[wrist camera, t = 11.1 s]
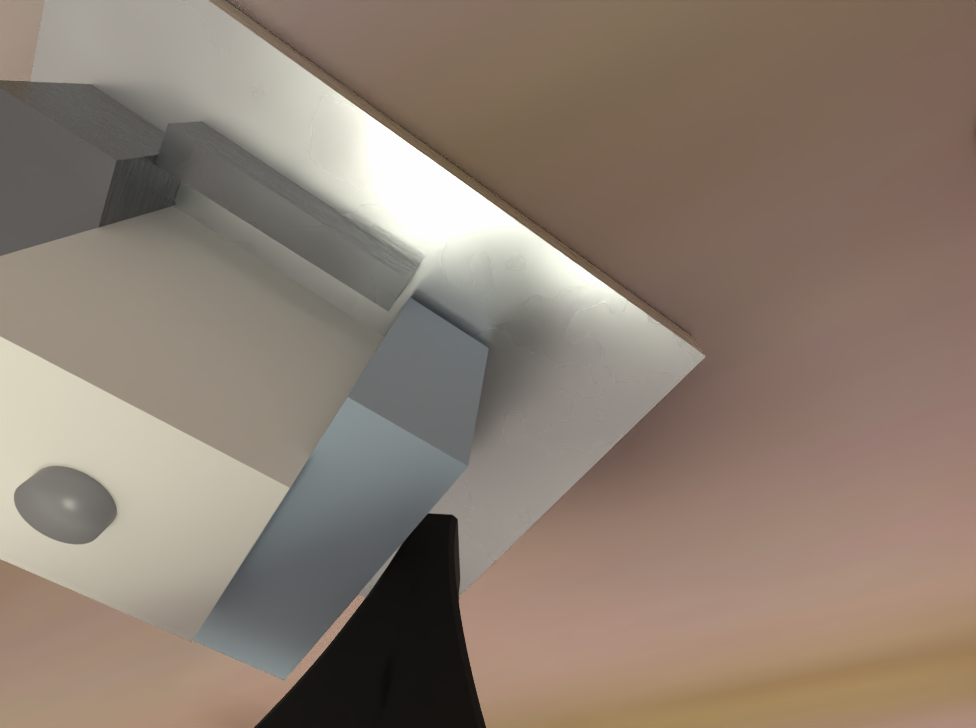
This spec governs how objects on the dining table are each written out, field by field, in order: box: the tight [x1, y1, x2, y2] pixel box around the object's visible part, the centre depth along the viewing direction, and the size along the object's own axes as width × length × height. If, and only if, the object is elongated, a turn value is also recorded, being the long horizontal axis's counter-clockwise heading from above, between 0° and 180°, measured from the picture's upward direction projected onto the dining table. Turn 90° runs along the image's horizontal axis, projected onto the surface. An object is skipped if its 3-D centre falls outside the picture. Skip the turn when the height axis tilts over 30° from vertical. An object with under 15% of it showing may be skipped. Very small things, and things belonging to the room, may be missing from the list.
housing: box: [0, 206, 384, 642], centre depth 9 cm, size 5×4×5 cm
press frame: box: [0, 0, 706, 597], centre depth 12 cm, size 14×12×3 cm
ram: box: [193, 298, 489, 680], centre depth 10 cm, size 2×7×4 cm, turn 146°
